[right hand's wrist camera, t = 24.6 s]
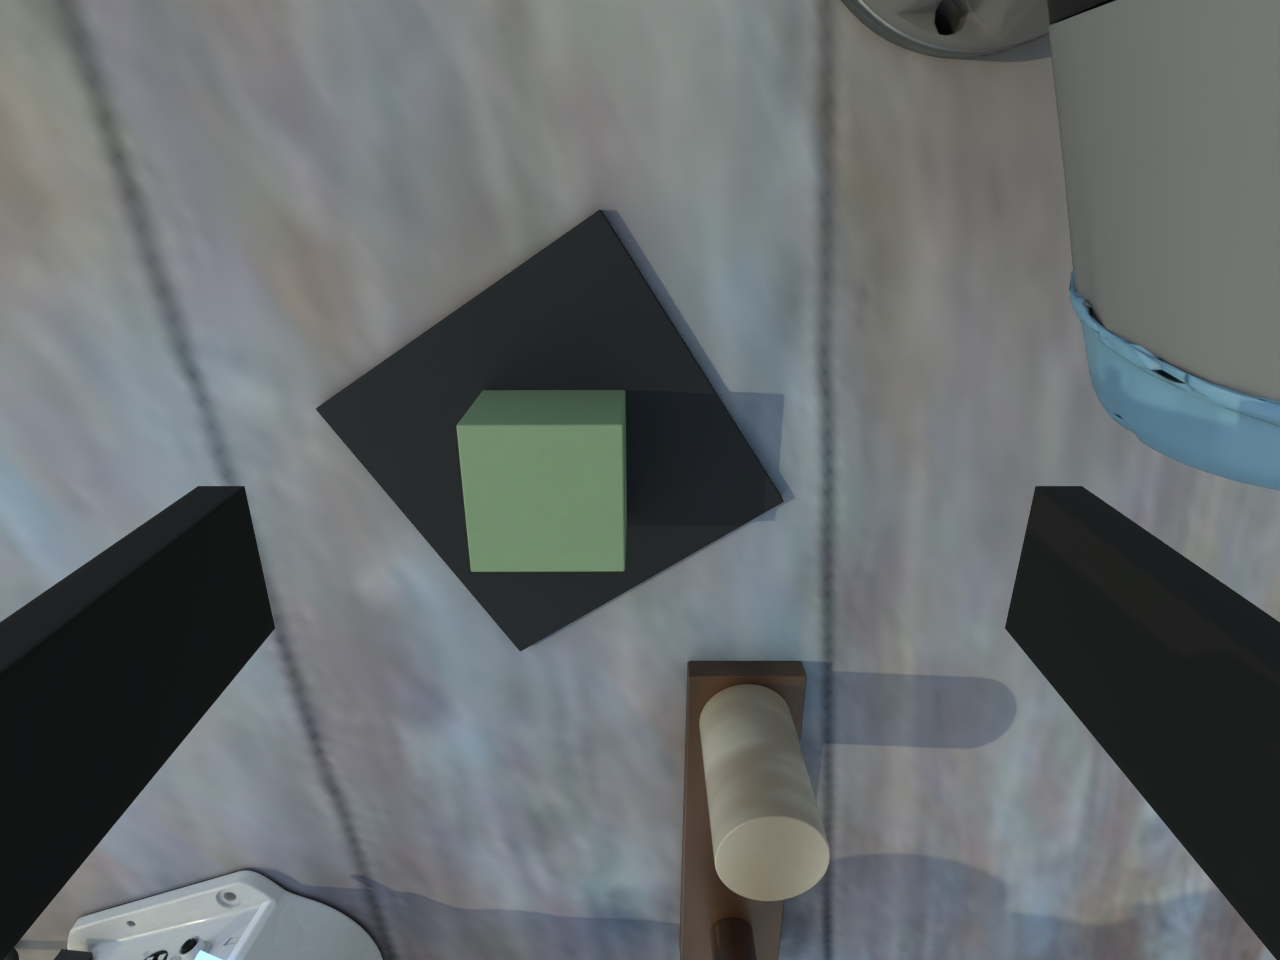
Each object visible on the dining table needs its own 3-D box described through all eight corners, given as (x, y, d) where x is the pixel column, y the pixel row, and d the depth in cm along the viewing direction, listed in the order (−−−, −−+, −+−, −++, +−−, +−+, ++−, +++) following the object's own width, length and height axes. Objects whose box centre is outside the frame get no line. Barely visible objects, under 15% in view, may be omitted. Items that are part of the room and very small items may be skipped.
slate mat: (600, 209, 36) (600, 209, 35) (782, 497, 41) (784, 501, 41) (319, 405, 39) (315, 409, 39) (521, 646, 45) (520, 652, 44)
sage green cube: (625, 389, 38) (623, 424, 33) (627, 519, 41) (624, 572, 35) (482, 389, 38) (455, 425, 33) (493, 519, 41) (470, 572, 35)
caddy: (801, 661, 45) (851, 808, 35) (774, 945, 55) (807, 1130, 44) (687, 661, 45) (702, 808, 35) (679, 945, 55) (689, 1130, 44)
